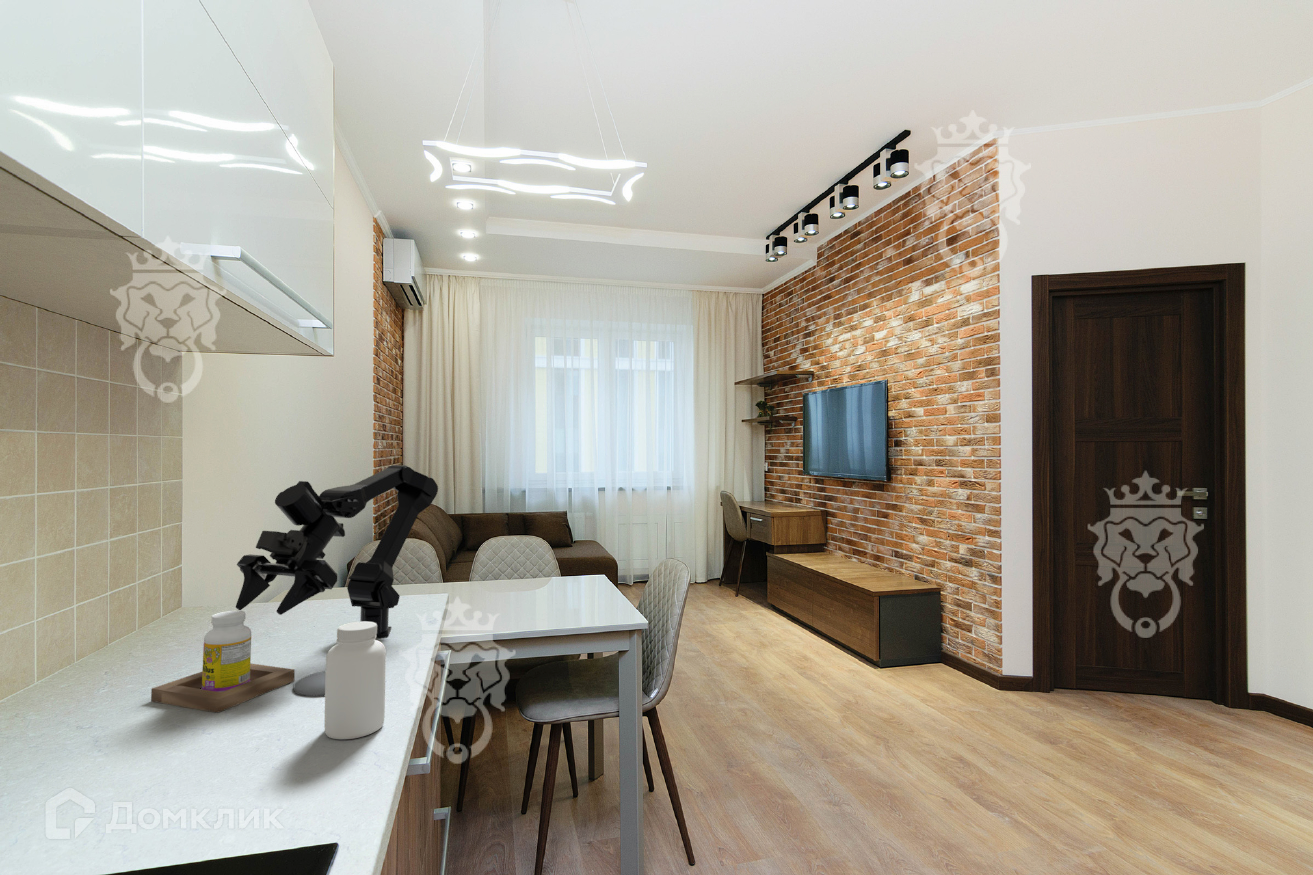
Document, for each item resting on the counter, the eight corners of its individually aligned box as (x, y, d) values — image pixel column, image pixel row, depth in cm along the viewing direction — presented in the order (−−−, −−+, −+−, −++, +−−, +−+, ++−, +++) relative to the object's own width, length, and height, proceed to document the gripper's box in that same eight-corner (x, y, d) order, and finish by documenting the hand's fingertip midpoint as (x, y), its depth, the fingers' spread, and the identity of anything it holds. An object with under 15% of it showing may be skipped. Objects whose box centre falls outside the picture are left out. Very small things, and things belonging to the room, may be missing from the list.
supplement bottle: (198, 690, 103) (201, 613, 104) (244, 680, 108) (247, 606, 108) (205, 701, 99) (208, 621, 99) (253, 691, 103) (256, 614, 104)
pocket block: (232, 671, 112) (233, 660, 112) (294, 680, 108) (294, 669, 108) (150, 701, 98) (151, 688, 99) (217, 712, 95) (218, 699, 95)
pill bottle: (354, 713, 95) (357, 616, 95) (396, 722, 92) (399, 621, 93) (310, 735, 88) (313, 629, 88) (354, 745, 85) (357, 635, 85)
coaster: (302, 675, 111) (303, 672, 111) (369, 670, 114) (369, 667, 114) (285, 699, 100) (285, 695, 100) (359, 692, 103) (359, 688, 103)
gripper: (248, 511, 117) (187, 580, 106) (328, 516, 112) (272, 589, 101) (282, 547, 124) (228, 615, 113) (358, 553, 119) (309, 625, 108)
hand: (257, 611), depth 109 cm, fingers open, 9 cm apart
